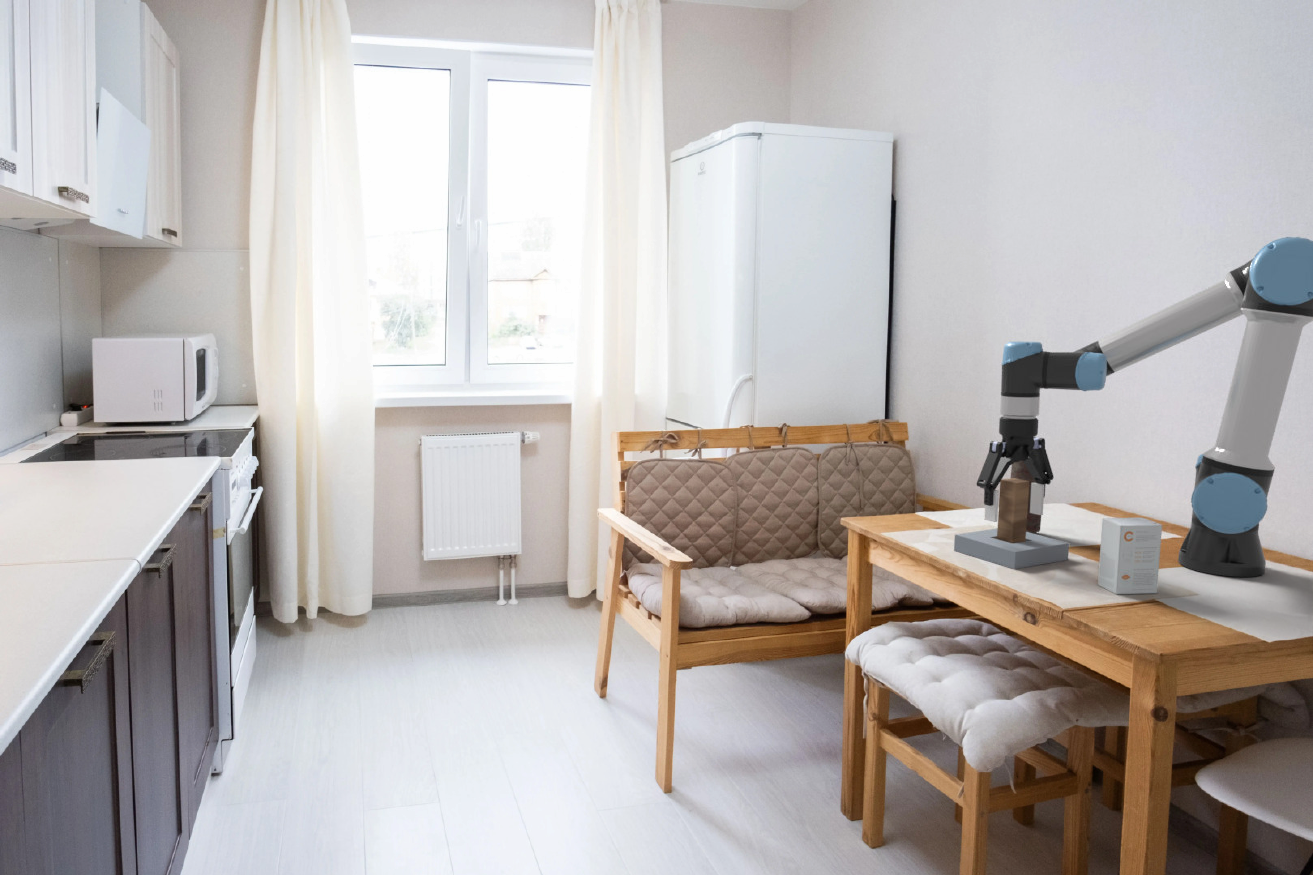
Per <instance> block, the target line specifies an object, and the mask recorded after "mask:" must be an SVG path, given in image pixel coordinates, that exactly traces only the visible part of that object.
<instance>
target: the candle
mask: <svg viewBox="0 0 1313 875" xmlns="http://www.w3.org/2000/svg"><path fill="white" fill-rule="evenodd" d="M1045 450H1046V451H1047V449H1046V448H1045ZM1010 478H1016V479H1021V480H1026V481H1029V494H1028V510H1027V525H1026V532H1029V533H1033V534H1036V533H1038V532H1040V531H1041V524H1042V515H1037V514H1033V513H1030V501H1031V483H1036V482H1035V481H1034V479H1033V477H1032V476H1031V474H1030V472H1029V471H1028V469H1027V467H1026V465H1025V464H1024V462H1023V461H1019V462H1014V463H1013V464H1012V465H1011V470H1010Z"/></svg>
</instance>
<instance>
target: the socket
mask: <svg viewBox="0 0 1313 875" xmlns="http://www.w3.org/2000/svg"><path fill="white" fill-rule="evenodd" d="M997 529H998V527H997V528H991V529H983V530H977V531H971V532H964V533H957V534H954V541H953V542H954V544H953V551H954V552H958V553H960V552H961V554H964V555H968V556H971V557H974V558H976V559H979V560H980V559H981V560H984V561H986V562H989V563H990V562H991V563H993V564H997V565H1000V566H1003V567H1006V568H1010V569H1013V570H1017V569H1022V568H1023V569H1024V568H1028V567H1033V566H1034V567H1035V566H1039V565H1044V564H1045V565H1046V564H1050V563H1056V562H1062V561H1067V560H1069V553H1070V550H1069V549H1070V542H1066V541H1063V540H1059V539H1055V538H1051V537H1049V536H1044V535H1041V534H1036V533H1029V532H1026V541H1025V542H1019V543H1013V544H1012V543H1009V542H1005V541H1002V540H998V539H997Z"/></svg>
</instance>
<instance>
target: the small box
mask: <svg viewBox="0 0 1313 875" xmlns="http://www.w3.org/2000/svg"><path fill="white" fill-rule="evenodd" d="M1101 520H1102V521H1101V532H1100V533H1101V534H1100V535H1101V536H1100V548H1099V549H1100V550H1099V562H1098V564H1099V565H1098V579H1097V580H1098V581H1097V585H1098V586H1099V587H1102V588H1104V589H1105V590H1106V591H1109V592H1111V593H1112V594H1115V595H1137V594H1140V595H1141V594H1157V593H1158V584H1159V583H1158V582H1159V571H1160V569H1159V568H1160V557H1161V546H1162V545H1161V544H1162V543H1161V542H1162V534H1163V533H1162V532H1163V525H1162V524H1161V523H1159V522H1155V521H1153V520H1151V519H1148V518H1144V517H1115V518H1114V517H1106V518H1105V517H1103V518H1102V519H1101Z"/></svg>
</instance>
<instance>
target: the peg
mask: <svg viewBox="0 0 1313 875" xmlns="http://www.w3.org/2000/svg"><path fill="white" fill-rule="evenodd" d="M1028 494H1029V481H1026V480H1021V479H1016V478H1011V477H1010V478H1002V479H1001V481H1000V483H999V498H998V519H997V528H998V529H997V539H998V540H1002V541H1005V542H1009V543H1012V544H1013V543H1019V542H1025V541H1026V525H1027V510H1028Z"/></svg>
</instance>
